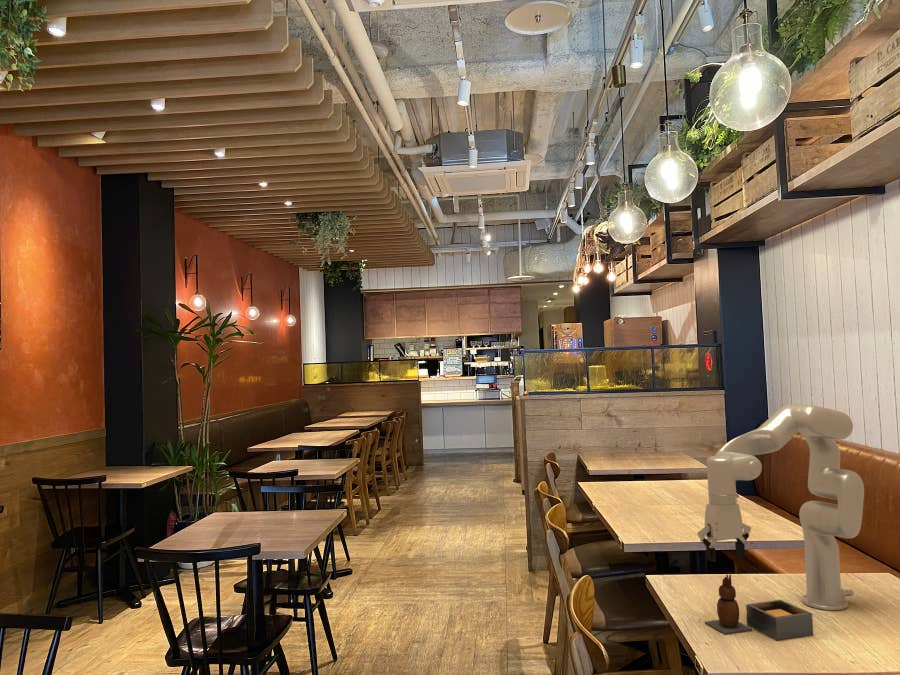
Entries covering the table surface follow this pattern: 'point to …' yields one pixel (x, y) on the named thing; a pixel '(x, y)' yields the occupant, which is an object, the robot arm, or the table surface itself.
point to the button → (778, 612)
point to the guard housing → (779, 620)
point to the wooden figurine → (727, 604)
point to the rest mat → (728, 630)
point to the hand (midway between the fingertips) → (726, 558)
